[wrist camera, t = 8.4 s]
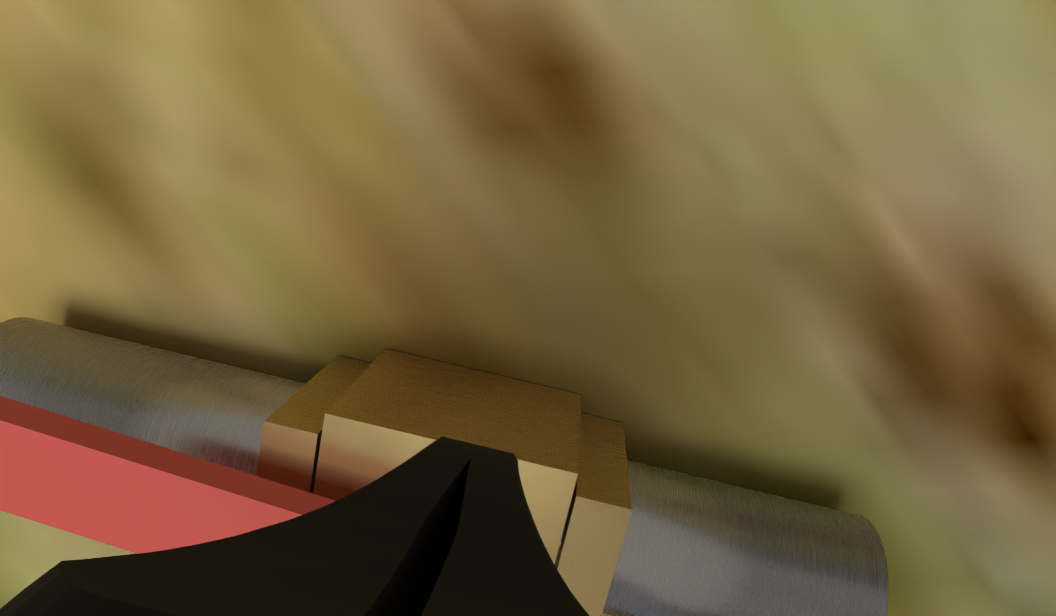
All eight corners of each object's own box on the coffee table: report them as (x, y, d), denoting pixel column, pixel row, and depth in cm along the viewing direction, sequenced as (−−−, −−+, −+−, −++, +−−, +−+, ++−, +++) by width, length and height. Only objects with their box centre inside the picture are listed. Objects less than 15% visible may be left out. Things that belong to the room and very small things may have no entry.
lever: (510, 531, 17) (505, 556, 16) (472, 650, 18) (465, 680, 17) (-31, 362, 17) (-69, 376, 16) (-41, 488, 18) (-77, 509, 17)
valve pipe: (857, 459, 22) (944, 570, 16) (793, 628, 23) (853, 778, 18) (63, 272, 23) (-104, 318, 17) (56, 448, 24) (-97, 540, 19)
